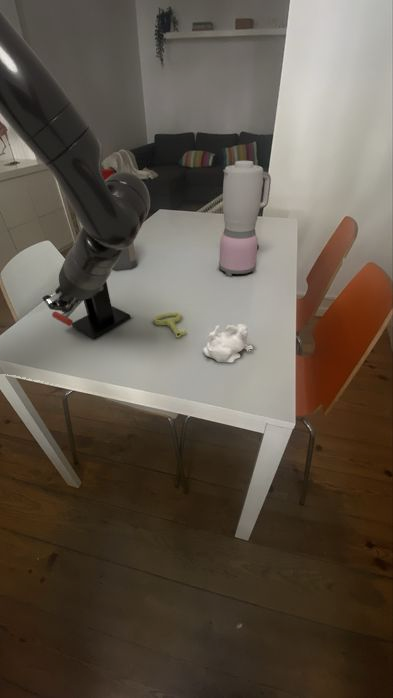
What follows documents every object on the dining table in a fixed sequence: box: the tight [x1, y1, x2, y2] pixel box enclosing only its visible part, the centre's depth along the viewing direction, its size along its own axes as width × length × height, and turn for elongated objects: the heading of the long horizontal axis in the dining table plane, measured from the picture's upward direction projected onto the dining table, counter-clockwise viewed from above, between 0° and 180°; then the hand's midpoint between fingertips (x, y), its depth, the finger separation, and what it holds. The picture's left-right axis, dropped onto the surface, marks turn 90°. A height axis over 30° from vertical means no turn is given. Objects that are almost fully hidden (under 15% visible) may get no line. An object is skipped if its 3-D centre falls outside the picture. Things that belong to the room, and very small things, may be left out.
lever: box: [51, 300, 84, 327], centre depth 75 cm, size 13×6×2 cm, turn 143°
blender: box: [218, 160, 272, 277], centre depth 99 cm, size 16×12×32 cm
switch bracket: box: [71, 280, 131, 340], centre depth 80 cm, size 12×9×13 cm
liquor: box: [100, 168, 138, 272], centre depth 104 cm, size 9×9×30 cm
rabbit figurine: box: [202, 323, 254, 363], centre depth 68 cm, size 12×8×10 cm, turn 94°
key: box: [153, 311, 187, 338], centre depth 81 cm, size 7×12×2 cm, turn 39°
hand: (64, 308), depth 70 cm, fingers closed
